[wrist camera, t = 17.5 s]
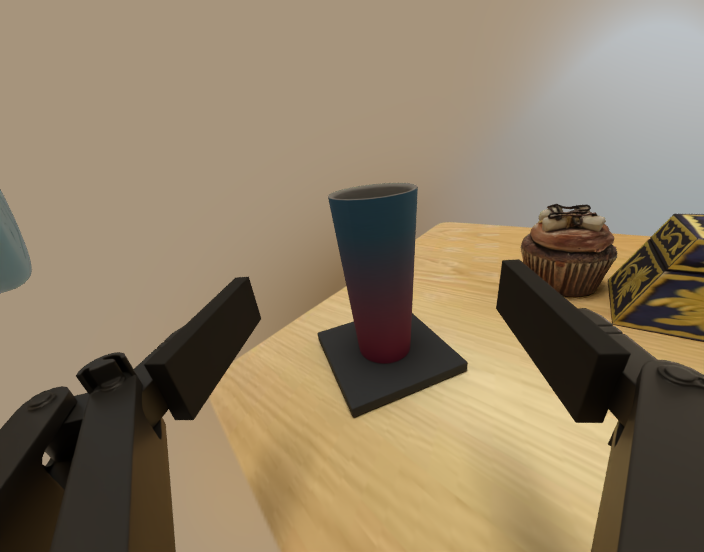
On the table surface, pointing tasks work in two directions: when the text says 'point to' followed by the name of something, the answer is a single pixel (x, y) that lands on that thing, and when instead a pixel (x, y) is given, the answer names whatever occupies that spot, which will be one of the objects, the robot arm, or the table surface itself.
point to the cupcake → (570, 249)
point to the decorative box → (664, 281)
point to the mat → (387, 366)
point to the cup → (378, 264)
